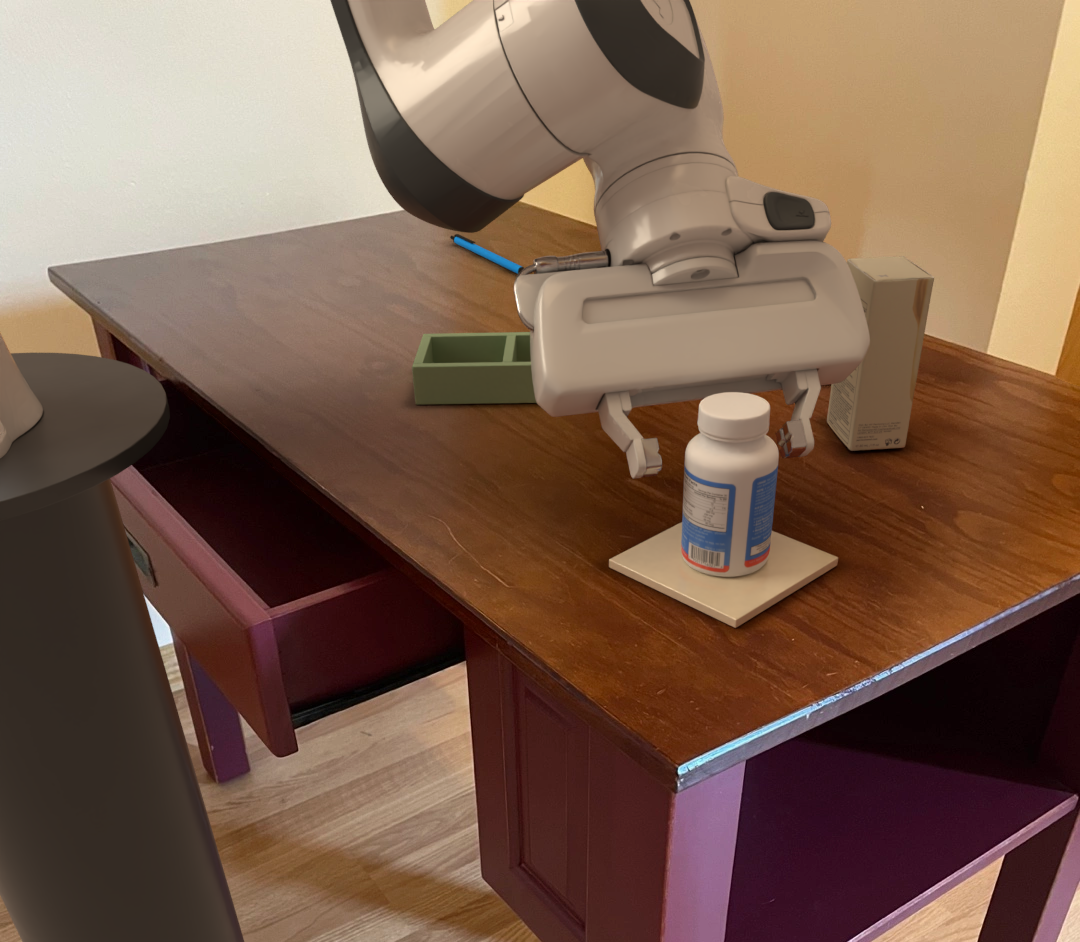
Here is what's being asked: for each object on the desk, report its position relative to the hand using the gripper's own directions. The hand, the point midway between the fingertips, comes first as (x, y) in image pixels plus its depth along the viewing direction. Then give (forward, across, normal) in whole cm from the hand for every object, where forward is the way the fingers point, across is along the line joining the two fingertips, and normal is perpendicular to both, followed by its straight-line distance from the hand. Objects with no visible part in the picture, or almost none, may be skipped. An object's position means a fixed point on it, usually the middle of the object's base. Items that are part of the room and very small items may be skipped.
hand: (724, 464), depth 63 cm
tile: (+5, 0, +4) cm, 7 cm away
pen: (-46, +1, +56) cm, 72 cm away
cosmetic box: (-6, +18, +15) cm, 24 cm away
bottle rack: (-19, -5, +28) cm, 35 cm away
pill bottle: (+5, 0, +4) cm, 6 cm away
